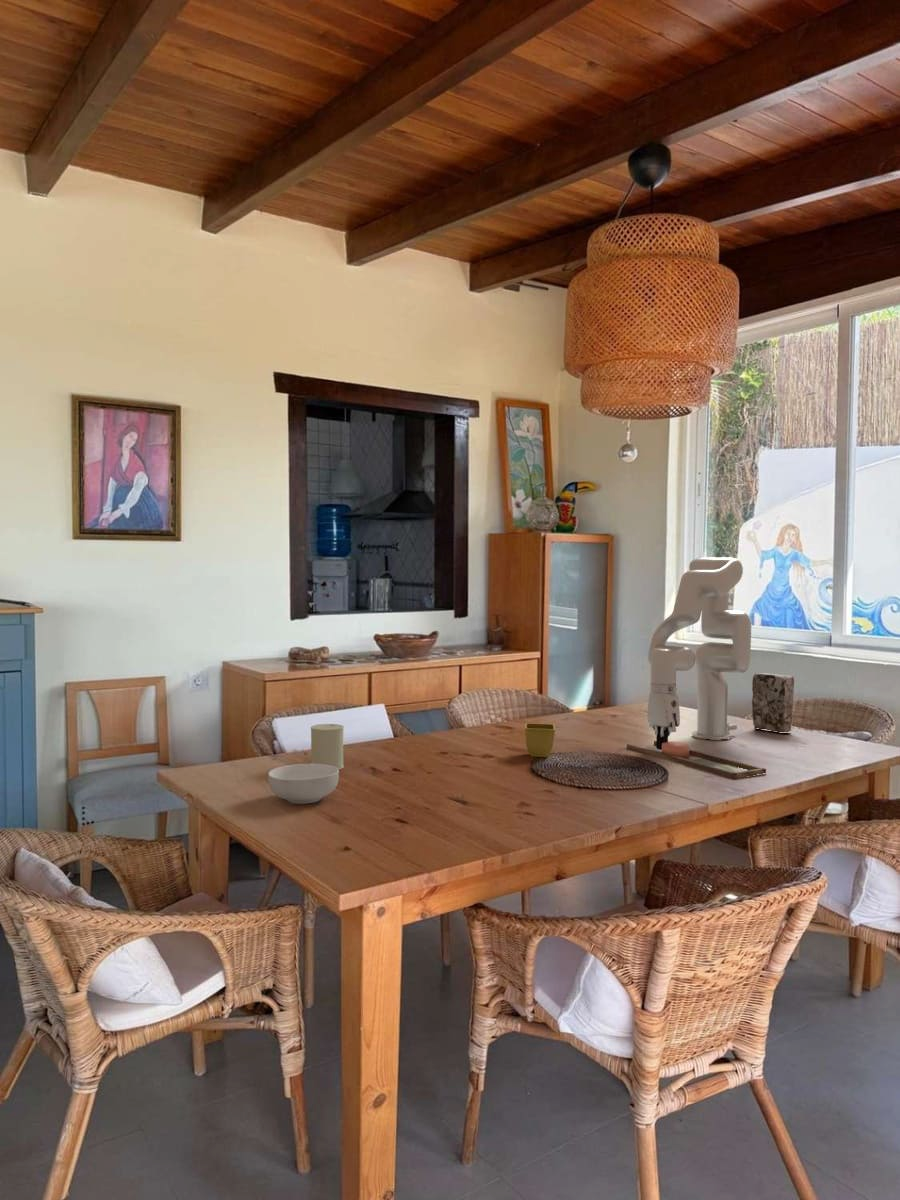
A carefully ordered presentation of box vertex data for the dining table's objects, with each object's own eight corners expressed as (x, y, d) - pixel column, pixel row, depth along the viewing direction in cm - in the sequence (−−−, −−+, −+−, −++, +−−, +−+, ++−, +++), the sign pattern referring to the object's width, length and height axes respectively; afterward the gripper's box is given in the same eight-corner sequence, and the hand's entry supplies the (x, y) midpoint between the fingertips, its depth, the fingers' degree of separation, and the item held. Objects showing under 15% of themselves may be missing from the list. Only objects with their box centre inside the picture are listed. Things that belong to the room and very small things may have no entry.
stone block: (794, 733, 304) (795, 675, 303) (784, 735, 299) (785, 676, 299) (758, 727, 314) (759, 671, 313) (748, 730, 309) (749, 673, 308)
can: (350, 766, 250) (350, 723, 249) (332, 772, 241) (332, 729, 241) (322, 762, 254) (322, 721, 253) (304, 769, 245) (304, 726, 245)
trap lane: (656, 745, 282) (656, 740, 282) (765, 774, 243) (766, 768, 243) (626, 748, 276) (626, 744, 276) (734, 779, 237) (734, 773, 237)
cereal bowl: (307, 787, 226) (307, 759, 226) (353, 798, 215) (353, 769, 215) (253, 800, 213) (253, 771, 212) (299, 813, 202) (299, 782, 202)
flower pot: (554, 753, 269) (554, 723, 269) (554, 759, 260) (555, 729, 260) (525, 752, 270) (525, 723, 269) (524, 758, 261) (524, 728, 261)
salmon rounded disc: (675, 752, 270) (675, 740, 270) (695, 757, 264) (695, 745, 263) (655, 754, 266) (656, 743, 266) (675, 760, 260) (675, 748, 259)
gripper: (689, 691, 265) (688, 752, 266) (656, 685, 278) (655, 743, 279) (670, 692, 261) (669, 754, 262) (637, 686, 275) (636, 745, 275)
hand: (662, 748), depth 270 cm, fingers closed
